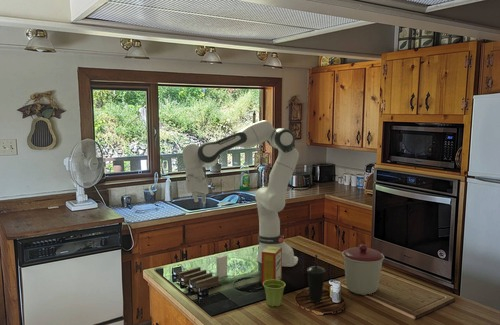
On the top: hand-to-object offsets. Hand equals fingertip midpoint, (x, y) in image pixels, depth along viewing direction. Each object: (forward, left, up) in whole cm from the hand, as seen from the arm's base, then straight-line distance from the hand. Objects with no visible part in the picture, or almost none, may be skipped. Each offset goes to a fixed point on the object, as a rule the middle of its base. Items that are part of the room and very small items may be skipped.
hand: (200, 202), depth 207 cm
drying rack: (-6, +17, -35) cm, 39 cm away
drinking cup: (-61, +18, -35) cm, 73 cm away
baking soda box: (-38, +4, -35) cm, 52 cm away
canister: (-79, +1, -35) cm, 87 cm away
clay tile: (-13, +5, -35) cm, 38 cm away
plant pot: (-45, +26, -35) cm, 63 cm away
